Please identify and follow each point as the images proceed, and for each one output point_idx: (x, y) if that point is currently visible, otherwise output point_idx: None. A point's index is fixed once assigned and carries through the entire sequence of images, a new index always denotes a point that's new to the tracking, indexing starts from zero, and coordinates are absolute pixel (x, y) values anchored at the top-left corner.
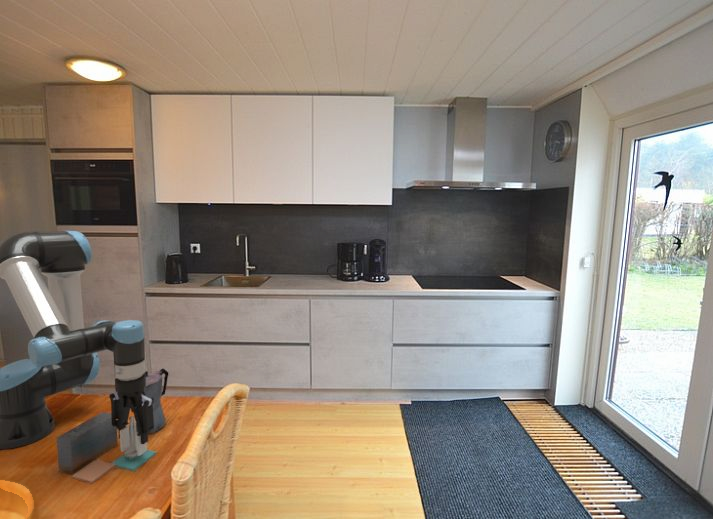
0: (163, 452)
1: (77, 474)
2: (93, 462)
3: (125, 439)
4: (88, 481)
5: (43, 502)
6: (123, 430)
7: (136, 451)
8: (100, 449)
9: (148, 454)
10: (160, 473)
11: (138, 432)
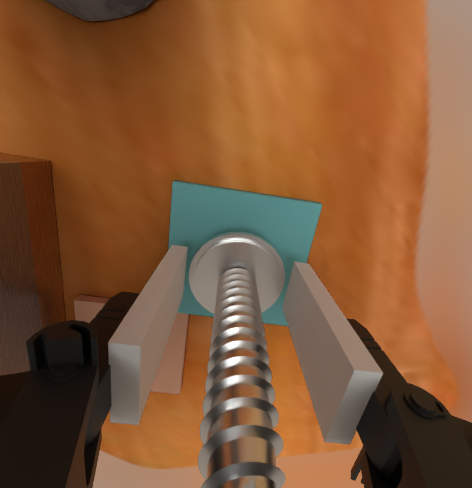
0: (351, 185)
1: None
2: (81, 315)
3: (170, 317)
4: (163, 390)
5: (110, 452)
6: (140, 402)
7: (261, 289)
8: (34, 274)
9: (293, 230)
10: (401, 313)
11: (62, 7)
